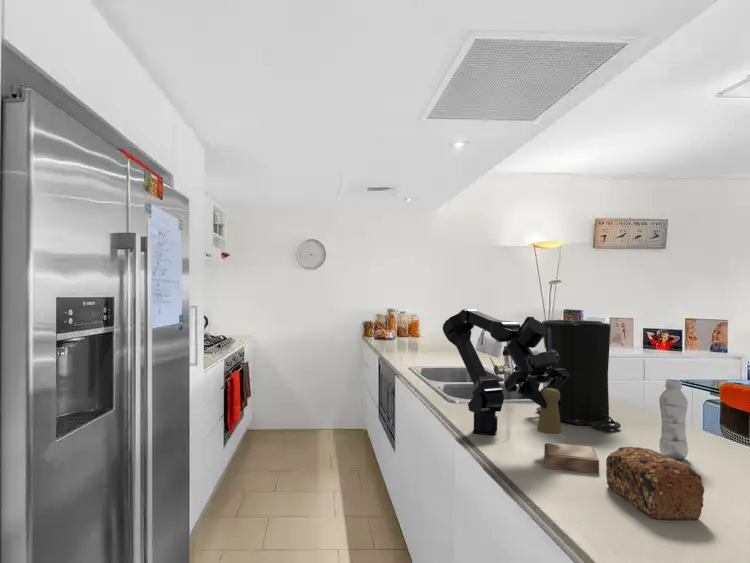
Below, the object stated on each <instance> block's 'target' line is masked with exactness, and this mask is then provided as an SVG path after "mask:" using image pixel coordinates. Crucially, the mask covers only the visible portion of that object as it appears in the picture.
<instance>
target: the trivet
mask: <svg viewBox="0 0 750 563" xmlns="http://www.w3.org/2000/svg"><path fill="white" fill-rule="evenodd" d="M543 454H544V466H545V469H556V470H565V471H572V472H573V471H574V472H583V473H594V474H599V473H600V460H599V457H598V454H597V452H596V450H595V447H594V446H588V445H587V446H585V445H577V444H568V443H567V444H566V443H555V442H544V452H543Z"/></svg>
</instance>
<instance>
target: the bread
mask: <svg viewBox="0 0 750 563" xmlns="http://www.w3.org/2000/svg"><path fill="white" fill-rule="evenodd" d="M605 465H606V470H605V474H606V482H607V486H608V488H609V489H610V488H611V489H610V490H612V491H614V492H615V493H616V494H617V495H619V497H621V498H623V499H624V500H626V502H628V503H630V504H631V505H632V506H635V508H636V509H638V510H639V511H640V512H642V513H644V514H645V515H647V516H650V517H651V518H654V519H658V520H659V519H660V520H672V521H673V520H682V521H683V520H684V521H685V520H689V521H690V520H691V521H695V520H698V519H700V517H701V514H702V509H703V507H704V494H705V486H704V485H703V480H702V476H701V475H700V474H699V473H697V472H696V470H694V469H693V468H692V467H691V466H690V465H687V464H686V463H683V462H682V461H680V460H678V459H674V458H671V457H669V456H666V455H663V454H661V452H658V451H656V450H654V449H651V448H643V447H639V446H637V447H634V446H621V447H619V448H618V449H617V450H615V451H613V452H611V453H610V454H609V455H608V456H607V458H606V459H605Z"/></svg>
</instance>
